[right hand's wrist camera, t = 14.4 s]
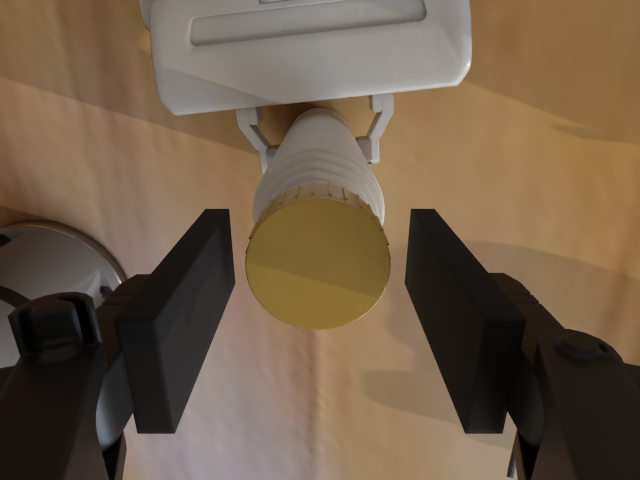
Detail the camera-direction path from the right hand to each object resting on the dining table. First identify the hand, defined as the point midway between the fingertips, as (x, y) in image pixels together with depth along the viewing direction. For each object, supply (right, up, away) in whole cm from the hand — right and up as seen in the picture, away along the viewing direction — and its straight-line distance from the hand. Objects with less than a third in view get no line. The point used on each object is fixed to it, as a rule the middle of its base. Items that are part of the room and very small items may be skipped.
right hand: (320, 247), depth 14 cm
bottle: (0, +9, +22) cm, 24 cm away
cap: (0, 0, -1) cm, 1 cm away
